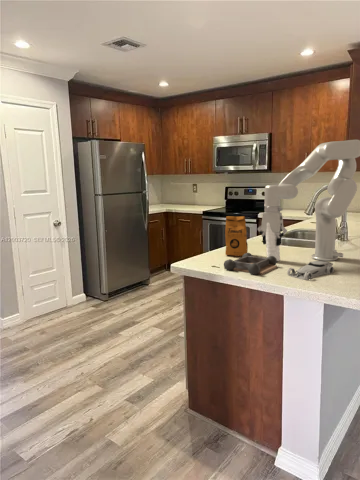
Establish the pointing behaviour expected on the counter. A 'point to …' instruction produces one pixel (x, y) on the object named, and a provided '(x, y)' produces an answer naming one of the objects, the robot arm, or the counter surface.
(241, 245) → the coffee package
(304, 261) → the counter surface
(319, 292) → the counter surface
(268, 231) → the water bottle
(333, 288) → the counter surface
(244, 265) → the chassis
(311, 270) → the car model
